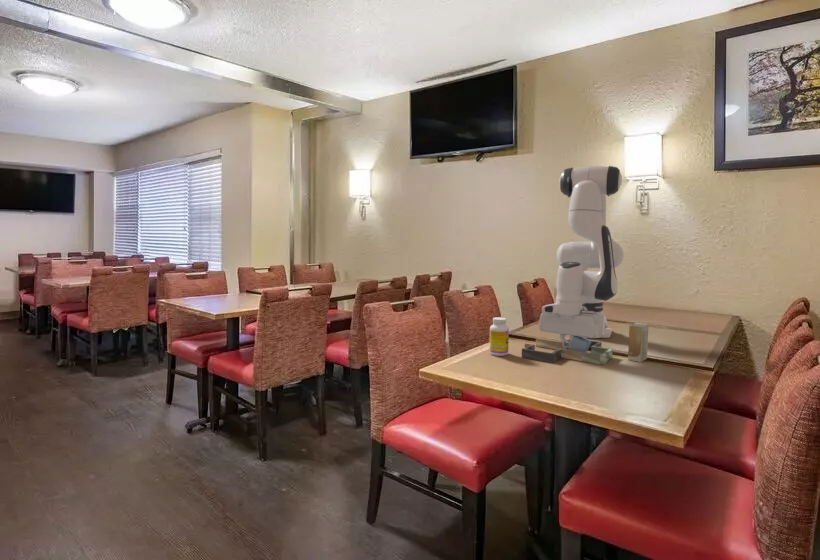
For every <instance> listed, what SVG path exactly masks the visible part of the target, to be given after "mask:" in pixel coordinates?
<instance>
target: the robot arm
mask: <svg viewBox="0 0 820 560" xmlns="http://www.w3.org/2000/svg"><path fill="white" fill-rule="evenodd" d="M558 181H559V182H558V185H559V189H560V192H561V193H562V194H563V195H565V196H567V198H570V200H569V207H568V214H567V215H568V217H567V220H568V226H569V228H570V230H571V231H572V232H573V233H575V234H576V235H577V236H579V237H581V238H584V239H585V240H588V241H569V242H564V243H561V245H559V247H558V248H557V250H556V260H557V262H558V264H559V266H558V269H557V274H556V283H555V285H556V287H555V288H556V296H555V302H552V303H550V304H545V305H543V306H542V307H541V310H542V313H541V314H540V316H539V323H538V329H539V331H540V332H544V333H551V334H557V335H559V338H560V340H561V342H563V347H568V348H569V347H570V344H571V342H572V339H573V337H574V336H578V337H585V338H587V339H601V338H602V339H608V338H610V337H611V335H612V333H613V330H612V329H613V328H609V327H608V322H607V320H608V319H607V317H606V315H605V313H604V305H605V302H606V301H608V300H610V299H612V298H613V297H615V296H616V294H617V292H618V281H617V279H618V278H617V275H616V270H615V269H616V268H618V267H619V266H620V265H621V264H622V262H623V261H624V255H625V254H624V249H623V247H622V246H621V245H620V244H619V243H618V242H616V241H614V239H613V238H612V236H611V231H610V229H609V227H608V226H607V218H606V216H607V215H606V213H607V197H610V196H612V195H615V194H616V193H618V192H619V189H620V188H621V186H622V182H623V176H622V172H621V171H620V169H619V167H617V166H612V165H609V166H605V165H590V166H579V167H574V168H573V167H568V168H564V169H563V171H561V174H560V176H559V179H558ZM588 269H598V270H599V269H600V270H599V271H592V270H588ZM604 301H605V302H604ZM566 336H569V337H568V338H569V339H570V341H569V342H567V340H566Z"/></svg>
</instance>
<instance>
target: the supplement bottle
mask: <svg viewBox="0 0 820 560" xmlns="http://www.w3.org/2000/svg"><path fill="white" fill-rule="evenodd" d="M506 324H507V318H505V317H500V316H498V317H497V316H496V317H493V318H492V324H491V325H490V327H489V348H488V349H489V354H490V355H492V356H495V357H496V356H497V357H500V356H501V357H504V356H507V355H508V354H509V338H510V337H509V333H510V329H509V326H507V325H506Z"/></svg>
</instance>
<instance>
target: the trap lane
mask: <svg viewBox="0 0 820 560" xmlns="http://www.w3.org/2000/svg"><path fill="white" fill-rule="evenodd" d="M570 339H571V338H569V339H567V340H566V341H567V342H569V341H570ZM536 347H538V348H543V349H549V350H553V351H552V352H547V351H543V350H542V351H541V350H536ZM589 348H591V349H590V352H588V351H587V352H581V351H574V350H569V348H568V347H563V342H562V341H559V340H552V339H547V338H546V339H545V338H538V337H537V338H535V343H534V344H533V343H527V342H525V343H524V347H523V348H522V349H521V358H522V359H523V358H524V359H528V360H534V361H539V362H540V361H541V362H546V363H550V364H551V363H552V364H554V363H555V362H556V361H559V360H560V359H567V360H571V361H572V360H573V361H578V362H585V363H590V364H597V365H602V366H603V365H604V364H606V363H607V362H608V361H610V360H611V359H613V352H614V351H613V348H607V347H602V341H596V340H592V341H591V344H590V346H589Z"/></svg>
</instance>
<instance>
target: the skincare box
mask: <svg viewBox="0 0 820 560" xmlns="http://www.w3.org/2000/svg"><path fill="white" fill-rule="evenodd" d="M649 326H650V324H649V323H641V322H634V323H632V324H630V325H629V327H628V329H629V330H628V331H629V332H628V348H627V349H628V351H627V352H628V353H627V360H628V361H632V362H636V363H637V362H638V363H641V362H644V361H645V360H647V359H648V347H649V346H648V345H649Z"/></svg>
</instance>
